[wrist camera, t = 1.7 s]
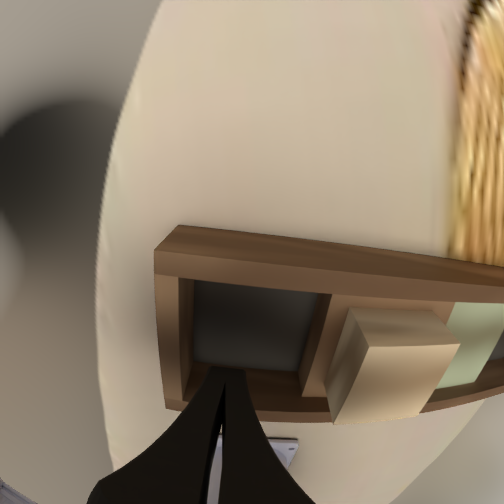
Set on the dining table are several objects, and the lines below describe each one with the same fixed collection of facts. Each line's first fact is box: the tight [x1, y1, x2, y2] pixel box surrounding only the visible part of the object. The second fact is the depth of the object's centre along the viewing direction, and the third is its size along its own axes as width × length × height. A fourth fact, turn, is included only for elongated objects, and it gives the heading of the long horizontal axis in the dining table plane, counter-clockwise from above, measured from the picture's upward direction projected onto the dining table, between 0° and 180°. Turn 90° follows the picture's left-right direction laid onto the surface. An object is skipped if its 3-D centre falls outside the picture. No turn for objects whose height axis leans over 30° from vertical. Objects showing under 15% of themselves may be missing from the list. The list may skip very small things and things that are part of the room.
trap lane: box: [154, 225, 504, 423], centre depth 14 cm, size 9×29×4 cm, turn 84°
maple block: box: [324, 307, 461, 425], centre depth 12 cm, size 5×5×3 cm
